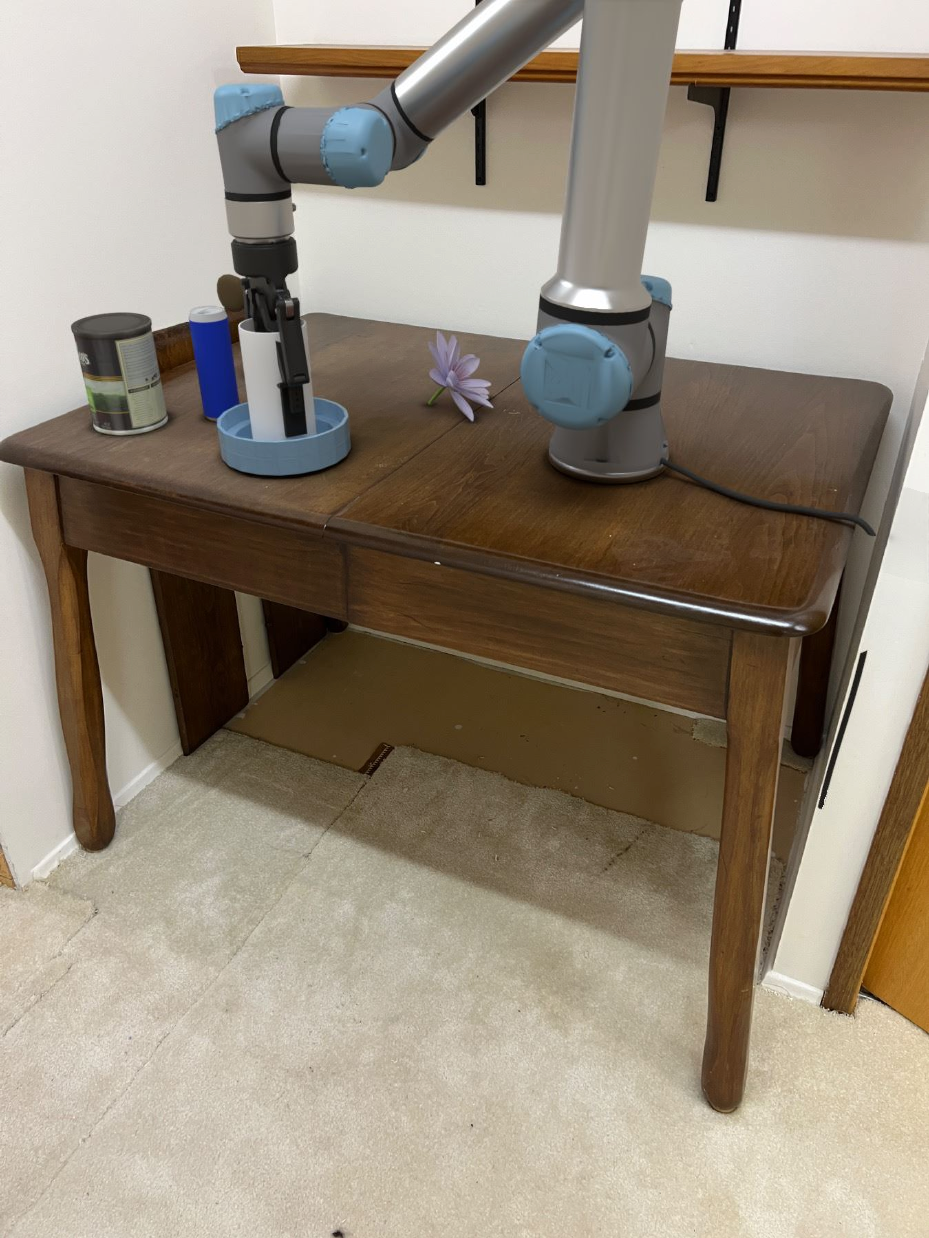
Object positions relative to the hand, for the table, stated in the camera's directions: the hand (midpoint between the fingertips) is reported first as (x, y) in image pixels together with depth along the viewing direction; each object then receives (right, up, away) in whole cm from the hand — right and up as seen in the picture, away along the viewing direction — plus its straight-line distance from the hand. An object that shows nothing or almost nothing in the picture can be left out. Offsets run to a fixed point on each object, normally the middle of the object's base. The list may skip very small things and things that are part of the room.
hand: (283, 423), depth 121 cm
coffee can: (-24, +2, +12) cm, 27 cm away
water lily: (+23, +5, +16) cm, 28 cm away
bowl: (0, -4, +2) cm, 4 cm away
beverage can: (-12, +4, +14) cm, 19 cm away
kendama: (-9, +14, +30) cm, 34 cm away
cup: (0, -3, +2) cm, 3 cm away
